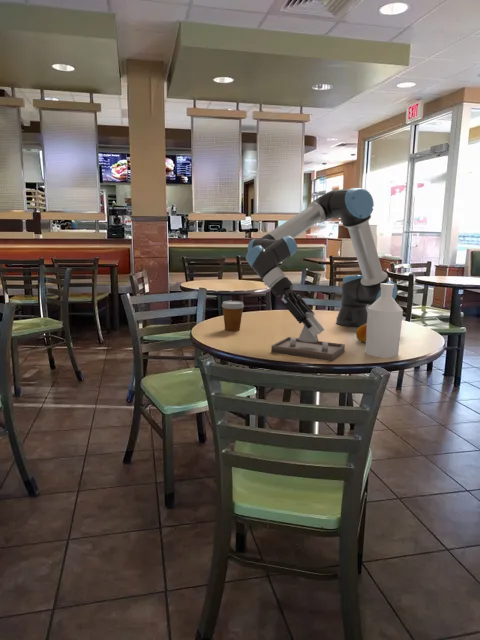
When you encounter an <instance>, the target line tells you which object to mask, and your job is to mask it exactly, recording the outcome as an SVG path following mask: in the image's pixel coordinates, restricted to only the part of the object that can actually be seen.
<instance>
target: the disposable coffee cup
mask: <svg viewBox="0 0 480 640" xmlns="http://www.w3.org/2000/svg"><path fill="white" fill-rule="evenodd" d="M221 307H222V312H223V313H222V314H223V322H224V324H223V325H224V331H226V332H239V331H241V325H242V323H241V322H242V317H243V316H242V315H243V310H244V307H245V305H244V302H243V301H239V300H225V301H222V304H221Z"/></svg>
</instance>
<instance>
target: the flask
mask: <svg viewBox="0 0 480 640" xmlns="http://www.w3.org/2000/svg"><path fill="white" fill-rule="evenodd" d="M314 313H315V312H314ZM314 313H309V312H307V313H305V314H306V317H307V318H308V317H309V319H310V320H311V321H312V322H313V324H314V320H313V317H315V314H314ZM307 318H306V319H307ZM298 338H299V341H303V342H317V341H319V338H318V334H317V335H316V336H315V337H314V336H313V335H312V334H311V333H310V331H309V330H308V329H307V328H306V327H305V325H304V324H303V328H302V330H301V331H300V334H299V337H298Z"/></svg>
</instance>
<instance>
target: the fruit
mask: <svg viewBox="0 0 480 640" xmlns="http://www.w3.org/2000/svg"><path fill="white" fill-rule="evenodd" d="M366 331H367V323H365V324H364V325H362V326H360V327H357V329H356V330H355V336H356V338H357V340H358V341H359V342H361V343H364V344H366Z"/></svg>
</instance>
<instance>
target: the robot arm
mask: <svg viewBox="0 0 480 640" xmlns="http://www.w3.org/2000/svg"><path fill="white" fill-rule="evenodd" d="M374 205H375V202H374V199H373V196H372V195H371V193H370V192H369V191H368V190H367V189H365V188H361V187H351V188H341V189H332V190H330V191H328V192H326V193H324V194H322V195H321V196H319V197H317V198H315V199H314V200H312V201H311V202H309V204H308V206H307V207H306V208H305V209H303V210H302V211H300V212H299V213H297V214H295V215H294V216H292V217H291V218H290V219H288V220H286V221H285V222H283V223H282V224H281V225H278V226H277V227H275V228H274V229H272V230H271V231H270V232H268V233H267V234H265V235H264V236H262V237H260V238H252V239H251V240H250V241H249V242H248V244H247V253H246V255H245V260H246V262H247V263H248V265H249V266H250V268H252V270H253V271H254V272H255V273H256V274H257V276H258V277H259V278H260V279H261V280H262V282H264V283H263V284H264V286H266V287H268V289H270V292H271V293H272V294H273V295H274V296H275V297H276V298H279V297H281V299H280V302H281V303H282V305H283V306H285V308H286V309H287V310H288V311H289V313H290V314H291V315H292V316H293V317H294V318H295V320H296V321H297V322H298V324H303V326H304V325H305V327H306V328H307V329H308V330H309V331H310V333H311V334H312V335H313V336H314V337H315V336H316V335H317V336H318V335H320V334H321V333H323V331H324V330H325V328H324V327H323V325H322V324H321V323H320V322H319V321H318V320H317V318H316V317H315V316H314V317H313V320H314V324H313V322H312V321H311V320H310V319H309V317H308V318H307V317H306V314H305V313H307V312H309V313H314V315H315V314H316V313H315V312H314V311H313V310H312V309H311V308H310V306H309V304H308V303H307V302H306V301H305V300H304V299H303V298H302V296H301V294H300V293H299V292H295V291H293V289H291V288H292V287H293V283H292V281H291V280H290V279H289V278H288V277H287V276H286V273H285V272H284V271H282V269H281V268H280V267H279V266H278V265H279V264H281V263H282V262H284V261H285V260H287V259H289V258H291V257H292V256H293V255H294V254H296V253H297V252H298V245H297V242H296V240H295V239H296V238H297V237H298V236H300V235H301V234H303V233H304V232H306V231H307V230H309V229H310V228H312V227H313V226H314V225H317V224H322V223H324V222H325V221H327V220H333V219H340V220H341V223H342V226H343V228H347V230H348V233H349V237H350V239H351V243H352V247H353V250H354V252H355V256H356V260H357V262H358V263H357V264H358V265H359V269H360V273H361V274H357V275H345V276H344V277H343V279H342V283H341V305H340V308H339V312H338V314H337V317H336V321H335V322H336V324H337V325H340V326H345V327H355V328H359V327H360V326H362V325H364V324H365V323H367V314H368V306H367V305H369V306H371V305H372V304H373V303H374V302H375V301H376V300H377V299H378V298H379V297H380V296H381V287H380V284H381V283H389V284H394V288H393V293H392V298H393V299H394V300H395V299H396V298H397V294H398V285H397V284H396V282H394V281H393V280H390V279H389V275H388V273H387V272H386V271H383V269H382V264H381V262H380V261H381V260H380V258H379V254H378V251H377V246H376V243H375V240H374V237H373V236H374V235H373V233H372V230H371V226H370V222H369V221H370V220H371V218H372V213H373V210H374ZM395 301H396V300H395ZM306 318H307V319H306ZM325 331H326V330H325Z"/></svg>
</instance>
